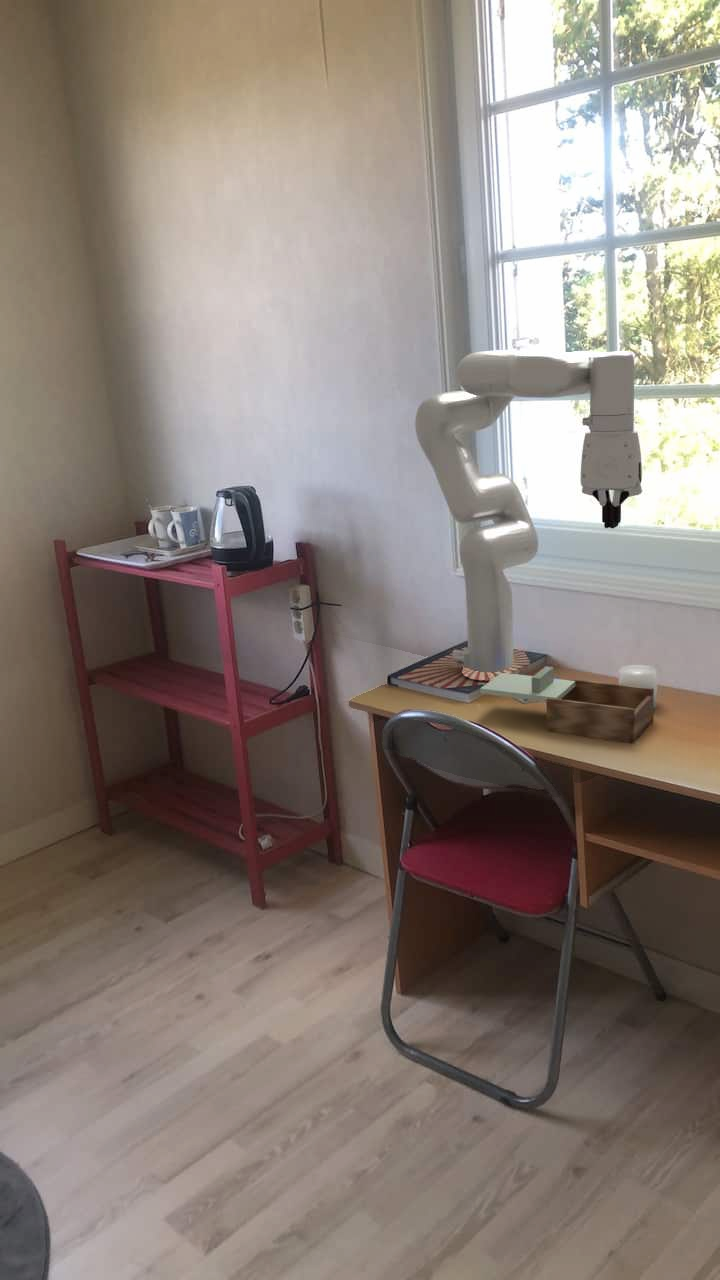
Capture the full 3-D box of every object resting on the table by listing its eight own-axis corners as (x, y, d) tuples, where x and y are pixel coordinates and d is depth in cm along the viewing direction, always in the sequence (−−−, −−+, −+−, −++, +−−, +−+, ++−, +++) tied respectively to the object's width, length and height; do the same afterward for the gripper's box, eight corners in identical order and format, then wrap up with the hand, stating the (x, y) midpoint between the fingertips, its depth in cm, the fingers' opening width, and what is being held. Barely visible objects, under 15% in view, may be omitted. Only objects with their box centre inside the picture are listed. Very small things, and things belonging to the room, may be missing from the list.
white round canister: (614, 708, 208) (614, 673, 206) (625, 697, 213) (625, 663, 211) (650, 713, 204) (651, 677, 202) (661, 701, 210) (661, 666, 208)
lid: (480, 693, 205) (479, 674, 204) (501, 677, 213) (501, 658, 212) (556, 703, 197) (556, 683, 196) (575, 686, 205) (575, 667, 204)
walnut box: (546, 730, 199) (546, 698, 197) (569, 709, 208) (569, 678, 207) (633, 743, 191) (633, 709, 189) (653, 720, 200) (653, 688, 199)
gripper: (563, 426, 193) (564, 529, 198) (647, 426, 186) (646, 532, 191) (578, 422, 199) (578, 521, 204) (660, 421, 192) (658, 524, 197)
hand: (611, 526), depth 197 cm, fingers closed
